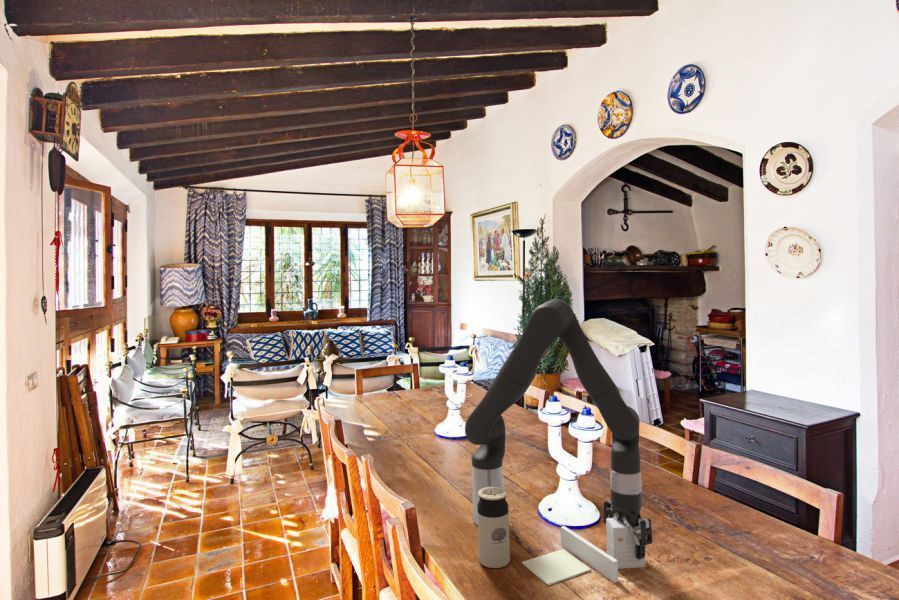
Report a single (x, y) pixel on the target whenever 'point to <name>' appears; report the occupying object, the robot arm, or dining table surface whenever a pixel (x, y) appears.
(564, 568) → the sage mat
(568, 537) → the white wall
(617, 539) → the small box
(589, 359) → the robot arm
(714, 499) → the dining table surface
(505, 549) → the travel mug
